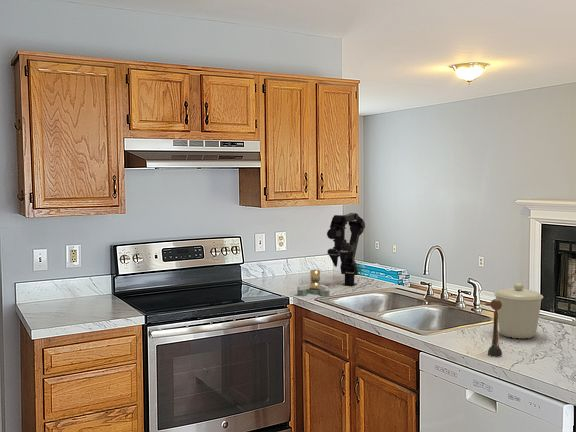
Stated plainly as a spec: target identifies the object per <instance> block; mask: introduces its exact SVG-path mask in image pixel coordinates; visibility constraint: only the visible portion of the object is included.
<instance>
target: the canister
mask: <svg viewBox="0 0 576 432" xmlns="http://www.w3.org/2000/svg"><path fill="white" fill-rule="evenodd" d="M494 296H495V299H498V300H500V301H501V303H502V307H501V309H500V310H497V313H498V329H499V330H498V331H499V332H500V334H501V335H502V336H505V337H506V336H507V338H510V337H512V338H511V339H516V338H519V339H518V340H526V339H525V338H528V339H531V338H533V337H535V335H536V334H537V330H538V325H539V319H540V313H541V305H542V304H541V303H542V300H543V299H544V296H543V295H542V294H541V293H539V292H537V291H536V290H533V289H528V288H527V289H525V288H524V285H523V284H522V283H521V282H516V283H515V284H514V285H513V287H512V288H511V287H508V288H501V289H499V290H497V291H495V292H494ZM520 338H521V339H520ZM522 338H524V339H522Z"/></svg>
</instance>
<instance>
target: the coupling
mask: <svg viewBox="0 0 576 432" xmlns="http://www.w3.org/2000/svg"><path fill="white" fill-rule="evenodd" d="M320 272H321V271H320V270H319V269H310V282H309V283H310V284H309V285H310V290H315V291H316V290H320V289H318V286H319V285H321V284H320V280H321V273H320Z"/></svg>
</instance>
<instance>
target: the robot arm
mask: <svg viewBox="0 0 576 432" xmlns="http://www.w3.org/2000/svg"><path fill="white" fill-rule="evenodd" d="M347 225H348V226H349V230H350V239H349V242H347V239H346V237H345V236H346V229H347V228H346V226H347ZM365 228H366V223H365V220H364V219H363V218H362V217H360V216H359V214H358V213H357V212H349V213H347V214H342V215H341V214H340V215H339V214H334V215H333V217H332V219H331V221H330V226H329V229H327V232H326V236H327V238H328V239H330V240H332V242H334V245H333V246H332V248H329V249H327V252H326V253H327V255H328V256H329V257H330V259H331V261H332V264H333V266H334V267H335V268H336V267H338V260H339V258H340V265H339V268H340V274H341V275H344V283H342V286H350V287H353V286H357V284H358V283H355V276H358V275H359V269H358V267H357V262H356V259H355V257H356V253H357V249H358V245H359V238H360V236H361V235H362V234H363V233H364V231H365Z"/></svg>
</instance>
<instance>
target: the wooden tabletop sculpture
mask: <svg viewBox="0 0 576 432" xmlns="http://www.w3.org/2000/svg"><path fill="white" fill-rule="evenodd" d="M485 306H489V307H491V309H492V310H494V311H493V328H492V329H493V331H492V342H491V344H490V346H489V348H488V351H487V355H488V356H489V355H491V356H490V357H492V356H501V355H502V356H503V352H502V349H501V348H500V344H499V335H498V334H499V332H498V331H499V330H498V329H499V324H498V313H497V310H500V309H501V307H502V303H501V301H500V300H498V299H496V298H495V299H492V300H491V301H490V302H485ZM502 356H501V357H502Z"/></svg>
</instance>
